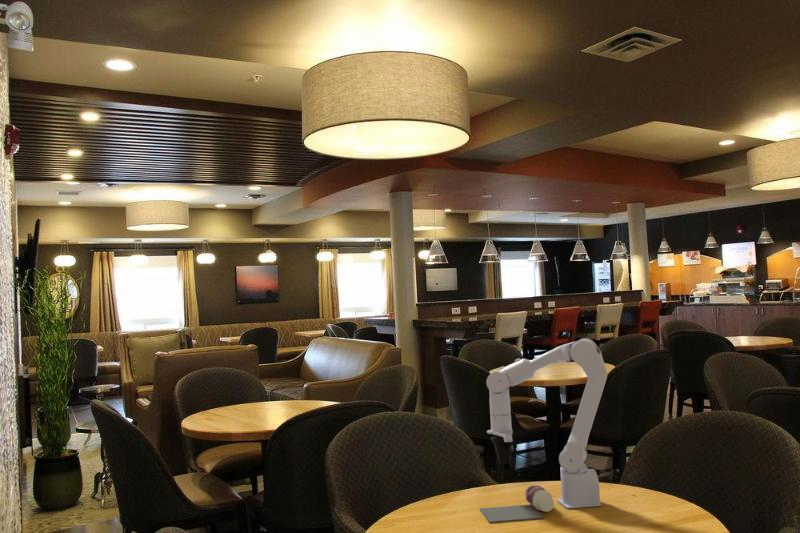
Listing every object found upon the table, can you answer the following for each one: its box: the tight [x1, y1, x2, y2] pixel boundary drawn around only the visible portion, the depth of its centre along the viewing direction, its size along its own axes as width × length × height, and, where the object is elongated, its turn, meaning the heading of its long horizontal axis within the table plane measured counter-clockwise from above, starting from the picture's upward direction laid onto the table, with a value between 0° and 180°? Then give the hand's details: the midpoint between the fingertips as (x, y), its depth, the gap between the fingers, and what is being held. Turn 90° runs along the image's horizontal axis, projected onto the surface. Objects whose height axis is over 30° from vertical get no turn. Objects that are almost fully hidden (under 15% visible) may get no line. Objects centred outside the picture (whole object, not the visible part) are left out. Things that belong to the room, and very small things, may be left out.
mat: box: [479, 503, 545, 524], centre depth 172 cm, size 14×11×1 cm
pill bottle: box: [524, 483, 555, 513], centre depth 176 cm, size 5×5×10 cm
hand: (503, 463), depth 186 cm, fingers closed
